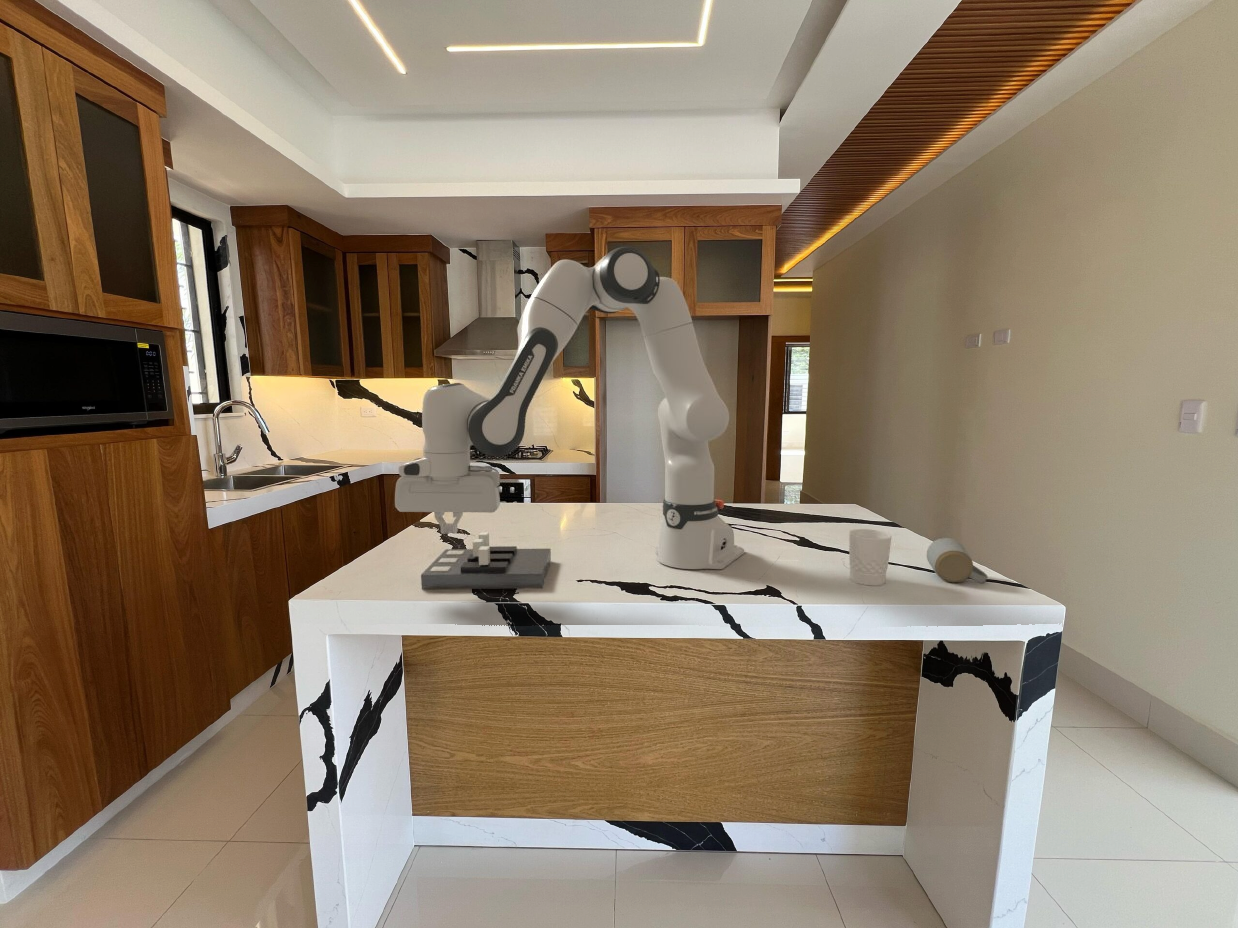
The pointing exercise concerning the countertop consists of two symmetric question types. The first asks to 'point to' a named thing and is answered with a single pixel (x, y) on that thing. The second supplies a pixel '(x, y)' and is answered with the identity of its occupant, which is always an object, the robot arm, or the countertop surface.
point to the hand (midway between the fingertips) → (449, 533)
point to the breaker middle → (477, 546)
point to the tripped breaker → (484, 555)
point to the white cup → (869, 556)
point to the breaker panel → (488, 569)
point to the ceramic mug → (953, 561)
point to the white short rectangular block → (484, 538)
